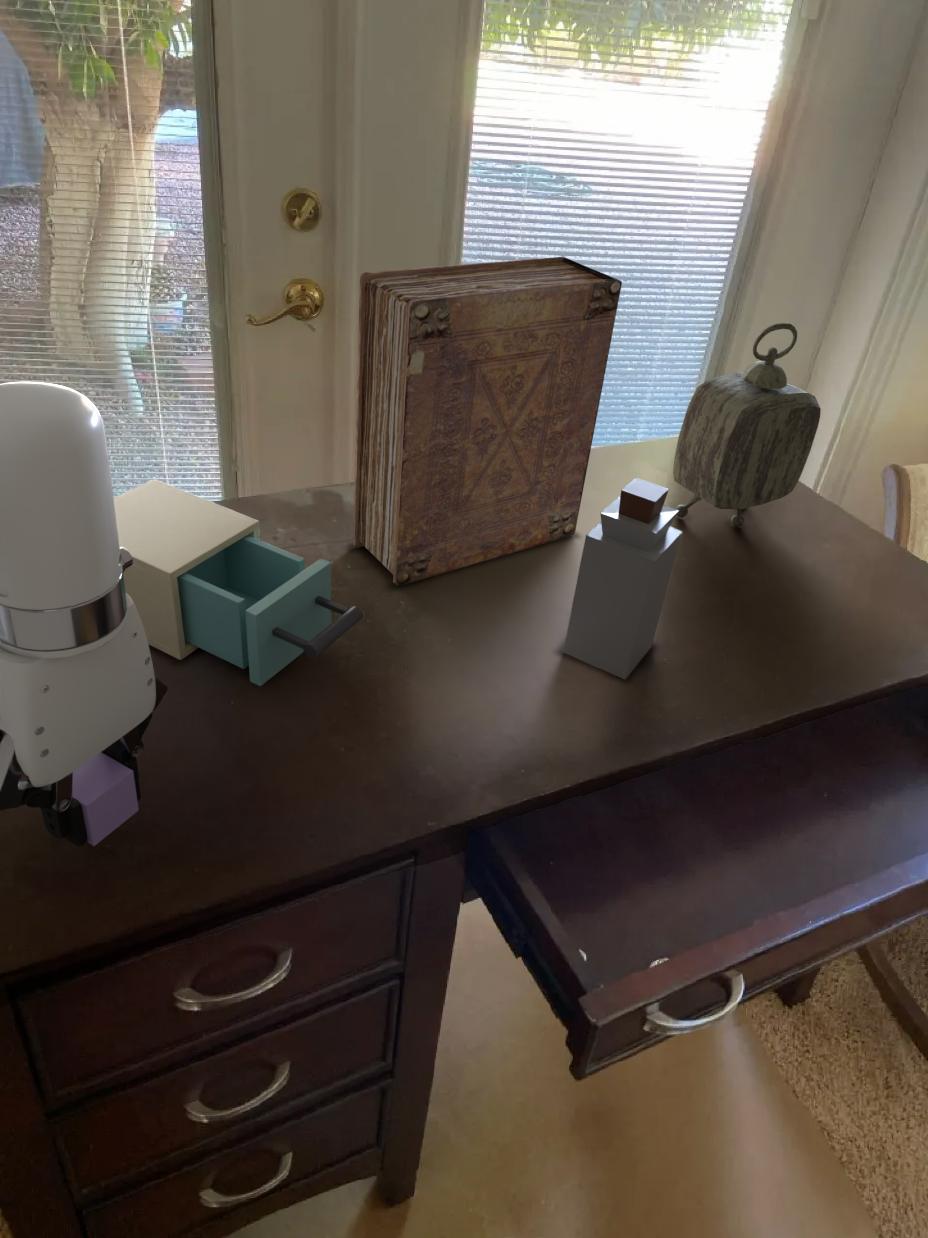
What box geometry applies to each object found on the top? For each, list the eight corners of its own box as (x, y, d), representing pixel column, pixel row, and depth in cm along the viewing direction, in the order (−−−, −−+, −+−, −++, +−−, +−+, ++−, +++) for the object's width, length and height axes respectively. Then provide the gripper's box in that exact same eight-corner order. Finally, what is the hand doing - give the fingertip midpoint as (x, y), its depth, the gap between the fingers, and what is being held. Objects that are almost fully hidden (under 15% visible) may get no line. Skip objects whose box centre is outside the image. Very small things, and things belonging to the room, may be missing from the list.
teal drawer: (372, 648, 84) (375, 580, 80) (304, 708, 77) (303, 636, 72) (231, 586, 91) (226, 519, 86) (155, 635, 83) (145, 565, 78)
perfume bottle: (651, 646, 90) (694, 488, 80) (625, 679, 85) (666, 516, 75) (592, 621, 93) (626, 464, 82) (563, 652, 88) (594, 490, 78)
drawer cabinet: (263, 602, 90) (259, 520, 85) (180, 660, 82) (169, 573, 76) (164, 558, 95) (154, 478, 89) (76, 609, 87) (58, 523, 81)
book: (393, 587, 95) (407, 301, 77) (352, 546, 101) (357, 272, 83) (575, 535, 107) (623, 279, 90) (529, 501, 113) (566, 254, 96)
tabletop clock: (738, 493, 120) (795, 306, 106) (789, 524, 114) (857, 331, 100) (659, 513, 113) (708, 317, 99) (709, 548, 108) (769, 344, 93)
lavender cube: (94, 846, 60) (86, 806, 58) (52, 820, 62) (43, 779, 59) (139, 810, 63) (133, 770, 61) (98, 786, 65) (91, 746, 62)
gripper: (122, 524, 59) (146, 727, 70) (-125, 644, 47) (-49, 868, 57) (207, 563, 57) (220, 767, 67) (-30, 701, 44) (31, 925, 55)
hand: (95, 812), depth 62 cm, fingers closed on lavender cube, 4 cm apart
